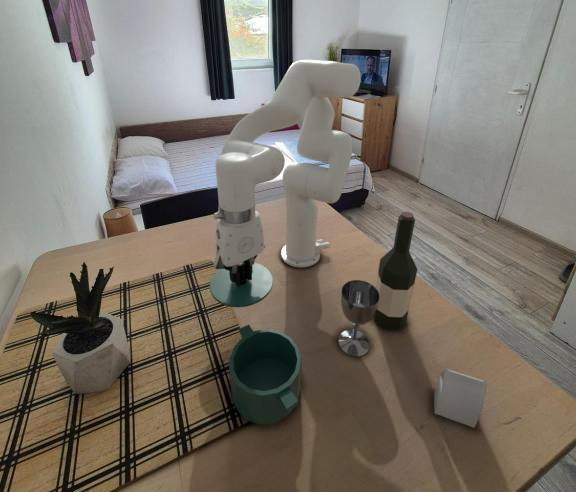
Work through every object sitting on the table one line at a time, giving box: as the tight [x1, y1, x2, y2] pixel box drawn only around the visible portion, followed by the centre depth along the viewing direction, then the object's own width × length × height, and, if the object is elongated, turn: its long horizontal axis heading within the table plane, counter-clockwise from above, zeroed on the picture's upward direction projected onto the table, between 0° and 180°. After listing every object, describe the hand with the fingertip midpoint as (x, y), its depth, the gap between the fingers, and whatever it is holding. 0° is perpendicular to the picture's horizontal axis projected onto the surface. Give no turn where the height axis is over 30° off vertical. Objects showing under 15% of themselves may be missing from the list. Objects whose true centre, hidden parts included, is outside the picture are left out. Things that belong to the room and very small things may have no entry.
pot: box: [228, 324, 302, 426], centre depth 64 cm, size 14×19×8 cm
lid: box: [209, 261, 274, 308], centre depth 75 cm, size 15×15×7 cm
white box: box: [433, 367, 488, 429], centre depth 60 cm, size 4×7×10 cm, turn 69°
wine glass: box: [338, 279, 379, 358], centre depth 72 cm, size 8×8×15 cm
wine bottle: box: [373, 211, 418, 331], centre depth 76 cm, size 8×8×30 cm
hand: (241, 279), depth 76 cm, fingers closed on lid, 2 cm apart
